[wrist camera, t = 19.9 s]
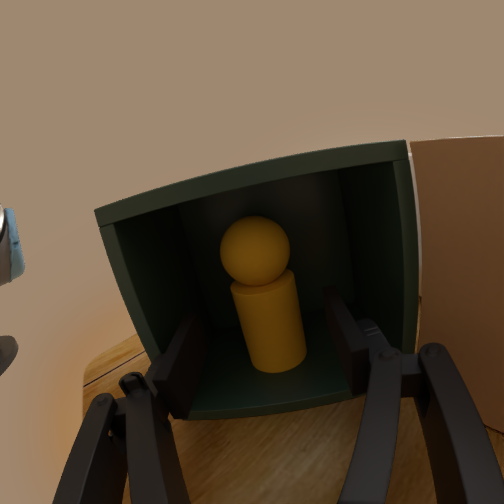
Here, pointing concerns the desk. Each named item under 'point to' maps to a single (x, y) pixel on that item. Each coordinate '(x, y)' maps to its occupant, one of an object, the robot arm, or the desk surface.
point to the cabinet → (300, 263)
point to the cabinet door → (464, 260)
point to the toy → (264, 293)
